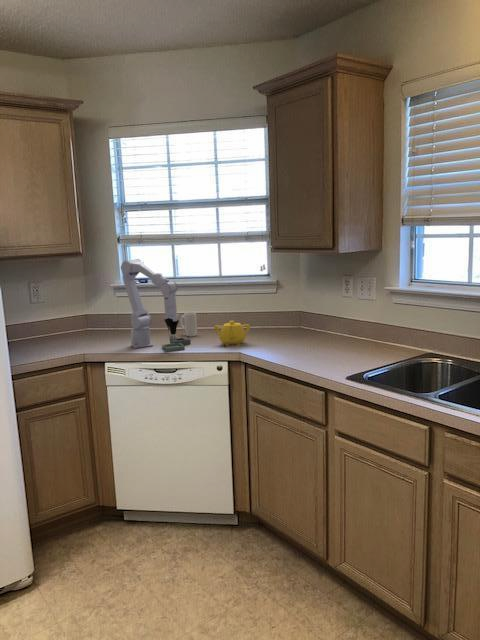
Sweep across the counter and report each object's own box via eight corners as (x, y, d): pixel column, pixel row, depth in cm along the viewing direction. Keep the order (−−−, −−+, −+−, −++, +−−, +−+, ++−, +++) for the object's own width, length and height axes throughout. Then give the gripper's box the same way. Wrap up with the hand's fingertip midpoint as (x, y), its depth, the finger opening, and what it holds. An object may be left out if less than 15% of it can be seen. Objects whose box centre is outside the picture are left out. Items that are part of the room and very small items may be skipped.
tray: (166, 351, 263) (166, 348, 263) (162, 348, 272) (162, 344, 271) (184, 349, 267) (184, 346, 266) (179, 346, 275) (179, 342, 275)
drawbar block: (173, 346, 274) (173, 341, 274) (170, 343, 281) (169, 339, 280) (190, 344, 277) (190, 339, 277) (186, 341, 284) (186, 337, 283)
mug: (199, 334, 301) (198, 312, 299) (193, 336, 295) (192, 315, 293) (184, 333, 306) (183, 312, 304) (178, 335, 300) (176, 314, 298)
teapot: (212, 345, 274) (211, 322, 271) (233, 339, 283) (231, 317, 281) (231, 348, 264) (230, 324, 262) (252, 343, 274) (251, 320, 272)
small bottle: (176, 340, 267) (175, 326, 266) (170, 341, 266) (169, 327, 265) (175, 339, 270) (174, 325, 269) (169, 340, 269) (168, 326, 268)
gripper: (182, 307, 260) (184, 335, 262) (174, 303, 273) (176, 330, 276) (168, 308, 257) (170, 336, 260) (160, 305, 271) (162, 331, 273)
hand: (172, 333), depth 268 cm, fingers closed on small bottle, 3 cm apart
